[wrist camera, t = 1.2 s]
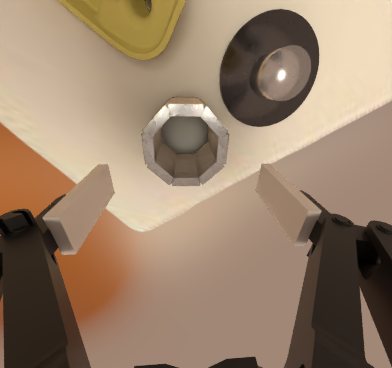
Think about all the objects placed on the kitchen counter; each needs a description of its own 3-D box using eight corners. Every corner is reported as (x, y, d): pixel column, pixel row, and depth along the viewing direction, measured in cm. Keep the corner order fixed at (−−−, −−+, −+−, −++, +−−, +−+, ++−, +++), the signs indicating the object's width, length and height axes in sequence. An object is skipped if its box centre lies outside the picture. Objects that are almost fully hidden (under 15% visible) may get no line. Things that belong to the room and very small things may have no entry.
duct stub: (225, 7, 21) (237, -14, 17) (333, 13, 22) (373, -5, 18) (215, 125, 29) (222, 134, 24) (298, 126, 29) (320, 134, 25)
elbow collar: (151, 96, 26) (137, 103, 18) (218, 98, 27) (232, 105, 19) (157, 160, 31) (148, 186, 23) (213, 159, 32) (223, 185, 24)
